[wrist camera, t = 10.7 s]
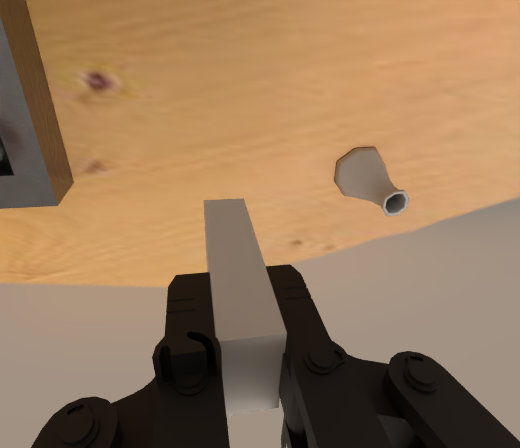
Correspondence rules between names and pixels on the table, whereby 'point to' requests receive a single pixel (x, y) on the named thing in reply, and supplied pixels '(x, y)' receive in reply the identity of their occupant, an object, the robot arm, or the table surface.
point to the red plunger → (2, 150)
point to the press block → (27, 119)
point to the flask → (369, 180)
